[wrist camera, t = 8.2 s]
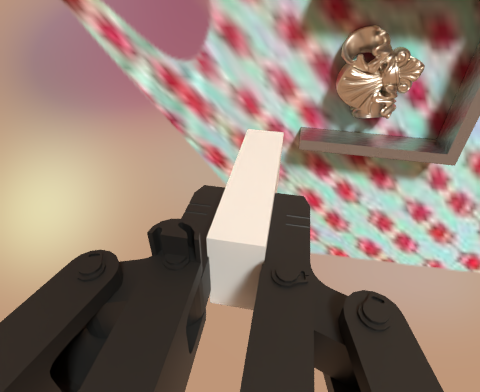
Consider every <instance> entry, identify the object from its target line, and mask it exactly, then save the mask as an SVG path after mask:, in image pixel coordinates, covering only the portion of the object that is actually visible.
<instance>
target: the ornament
mask: <svg viewBox="0 0 480 392" xmlns="http://www.w3.org/2000/svg"><path fill="white" fill-rule="evenodd" d="M390 42H391V39H390V36H389V34H388V33H387V32H386V31H385V30H384V29H381V28H380V27H379V26H377V25H375V26H367V27H363V28H360V29H358V30H356V31H354V32H353V33H351V34H350V35H349V36H348V38H347V39H346V40H345V42H344V44H343V47H342V54H341V56H342V58H343V59H344V60H345V61H346V62H347V63H346V64H345V65H344V66H343V67H342V69H341V70H340V72H339V74H338V77H337V81H336V90H337V93H338V95H339V96H340V98H341V99H342V100H343V101H344V102H345V103H346V104H348V105H349V106H351V107H350V110H353V111H352V115H353V116H354V117H355V118H361V119H366V118H377V117H385V118H386V119H388V118H389V117H390V115H391V113H392V112H393V111H394V110H395V109H396V105H395V104H394V103H395V102H396V100H395V99H394V98H396V97H397V94H396V92H397V91H398V92H399V93H402V94H403V93H406V92H407V91H408V90H409V89H410V88H411V86H412V81H413V82H414V81H416V80H417V79H418V78H419V76H420V75H421V73H422V72H423V70H424V67H425V66H424V64H423V63H422V62H421V61H420V60H418V59H417V58H414V57H412V56H411V54H410V51H409V50H408V49H406V48H404V47H398V48H396V49H394V51H393V49H392V47H391V45H390ZM360 53H372V54H373V55H374V56H376V57H375V59H373V60H372V61H370V62H369V63H367V62H366V61H365V59H364V56H363V55H362V54H360ZM358 54H360V55H359V56H358V57H357V60H355V61H353V60H352V59H353V58H354V57H355V56H357V55H358ZM381 89H382V91H380V90H381ZM379 91H380V92H379Z"/></svg>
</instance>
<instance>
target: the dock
mask: <svg viewBox="0 0 480 392" xmlns="http://www.w3.org/2000/svg"><path fill="white" fill-rule="evenodd" d="M479 116H480V41H479V44H478V46H477V48H476V51H475V53H474V55H473V58H472V60H471V62H470V64H469V67H468V69H467V71H466V74H465V76H464V78H463V80H462V83H461V85H460V87H459V90H458V92H457V94H456V97H455V99H454V101H453V103H452V106H451V108H450V110H449V113H448V115H447V117H446V119H445V122H444V124H443V126H442V129H441V131H440V133H439V136H438V138H437V140H433V139H422V138H411V137H401V136H390V135H380V134H369V133H358V132H348V131H337V130H326V129H316V128H305V127H301V131H300V139H299V149H301V150H311V151H320V152H330V153H340V154H349V155H359V156H368V157H378V158H388V159H397V160H407V161H417V162H426V163H436V164H446V165H455V164H456V162H457V160H458V158H459V156H460V154H461V152H462V150H463V148H464V146H465V144H466V142H467V140H468V138H469V136H470V134H471V132H472V130H473V128H474V126H475V124H476V122H477V120H478V118H479Z"/></svg>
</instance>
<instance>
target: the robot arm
mask: <svg viewBox="0 0 480 392" xmlns="http://www.w3.org/2000/svg"><path fill="white" fill-rule="evenodd" d="M283 135H284V133H283V132H273V131H262V130H252V129H248V130H247V133H246V135H245V138H244V141H243V143H242V146H241V149H240V151H239V154H238V156H237V159H236V162H235V164H234V167H233V169H232V172H231V175H230V177H229V180H228V183H227V185H226V188H222V187H215V186H206V185H204V186H203V187H201V188H200V189H199V190H198V191H196V192H195V193H194V195H193V197H192V199H191V201H190V204H189V205H188V207H187V209H186V211H185V213H184V214H183V216H182V218H181V219H170V220H165V221H162V222H160V223H158V224H156V225H154V226H153V227H152V228H151V229H150V230H149V231H148V238H149V243H150V248H151V252H152V256H151V257H149V258H145V259H140V260H131V261H123V262H119V261H118V259H117V257H116V255H114V254H113V253H112V252H110V251H105V250H95V251H90V252H87V253H84V254H81V255H80V256H78V257H77V258H75V259H74V260H72V261H71V262H70V263H69V264H68V265H66V266H65V267H64V268H63V269H62V270H61V271H59V272H58V273H57V274H56V275H55V276H54V277H52V278H51V279H50V280H49V281H48V282H47V283H46V284H44V285H43V286H42V287H41V288H40V289H39V290H37V291H36V292H35V293H34V294H33V295H32V296H30V297H29V298H28V299H27V300H26V301H25V302H24V303H22V304H21V305H20V306H19V307H18V308H17V309H15V310H14V311H13V312H12V313H11V314H10V315H8V316H7V317H6V318H5V319H4V320H3V321H2V322H0V392H185V389H186V385H187V382H188V379H189V375H190V372H191V368H192V365H193V361H194V358H195V354H196V351H197V348H198V345H199V341H200V338H201V334H202V331H203V327H204V324H205V321H206V305H207V301H208V298H209V295H210V302H211V303H216V304H222V305H227V306H233V307H240V308H245V309H251V310H254V312H253V317H252V323H251V330H250V335H249V342H248V347H247V353H246V359H245V365H244V371H243V377H242V383H241V389H240V392H314V368H316V369H318V370H320V371H322V372H323V374H324V378H325V382H326V385H327V389H328V392H444V391H443V389H442V388H441V386H440V384H439V382H438V380H437V378H436V376H435V374H434V372H433V370H432V368H431V367H430V365H429V363H428V361H427V359H426V357H425V355H424V353H423V351H422V350H421V348H420V346H419V344H418V342H417V340H416V338H415V336H414V334H413V333H412V331H411V329H410V327H409V325H408V323H407V321H406V319H405V317H404V316H403V314H402V312H401V311H400V310H399V308H398V307H397V306H396V304H394V303H393V302H392V301H390V300H389V299H388V298H386V297H385V296H383V295H380V294H378V293H376V292H373V291H365V290H362V291H358V292H353V293H352V294H351V295H349V296H346V295H344V294H342V293H340V292H337V291H335V290H333V289H331V288H329V287H327V286H326V285H324V284H323V283H322V282H321V281H319V280H318V278H317V277H316V276H315V275H314V273H313V271H312V269H311V265H310V206H309V204H308V202H307V201H306V199H305V197H304V196H296V195H288V194H280V193H277V187H278V179H279V170H280V161H281V152H282V144H283Z"/></svg>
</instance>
